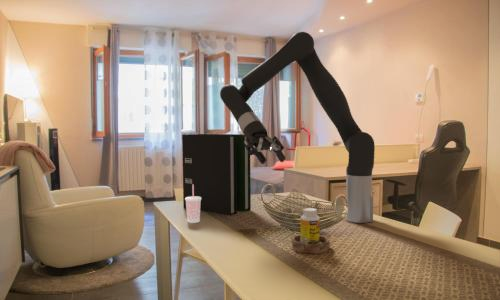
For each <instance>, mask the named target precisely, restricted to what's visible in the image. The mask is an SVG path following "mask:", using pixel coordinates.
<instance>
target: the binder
mask: <svg viewBox="0 0 500 300" xmlns="http://www.w3.org/2000/svg"><path fill="white" fill-rule="evenodd" d="M181 137H182V139H181V142H182V144H181V146H182V148H181V149H182V191H183V193H182V194H183V200H182V201H183V208H185V209H186V201H185V198H186V197H190V196H193V193H192V184H194V196H199V197H201V204H200V212H202V211H203V212H206V213H207V212H208V213H211V214H212V213H213V214H217V213H218V214H219V215H223V214H224V216H228V215H230V216H229V217H231V216H232V215H237V214H238V211H239V212H244V213H246V211H251V210H252V209H251V208H252V206H251V205H252V204H251V203H252V201H251V197H252V196H251V194H252V193H251V189H252V188H251V186H252V185H251V184H252V183H251V155H250V154H249V153H248V151H247V149H246V147H245V145H244V141H245V140H246V137H245V135H244V133H243V134H234V133H233V134H231V133H229V134H228V133H226V134H225V133H224V134H223V133H197V134H195V133H193V134H191V133H190V134H182V135H181Z"/></svg>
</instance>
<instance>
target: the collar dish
mask: <svg viewBox="0 0 500 300" xmlns="http://www.w3.org/2000/svg"><path fill="white" fill-rule="evenodd" d="M329 247H330V239H329V238H328V236H325V235H321V234H320V240H319V244H305V243H301V242H300V233H299V234H296V235H294V236H291V249H292V250H293V251H295V252H297V253H300V254H305V255H318V254H325V253H326V252H328V251H330V250H329V249H330V248H329Z"/></svg>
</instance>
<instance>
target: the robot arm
mask: <svg viewBox="0 0 500 300" xmlns="http://www.w3.org/2000/svg"><path fill="white" fill-rule="evenodd" d="M294 62H296V63H297V64H298V66H299V67H300V69H301V70H302V71H303V73H304V74H305V76H306V79H307V81H308V83H309V85H310V87H311V90H312V92H313V94H314V95H315V97H316V99H317V102H318V103H319V104H320V106H321V108H322V109H323V111H324V112H325V113H326V116H327V117H328V118H329V120H330V121H331V122H332V123H333V125H334V126H335V129H336V131H337V132H338V134H339V136H340V139H341V141H342V143H343V144H344V148H345V149H346V151H347V152H348V161H347V162H348V164H347V167H346V170H345V171H346V173H345V175H346V177H345V178H346V179H345V181H346V184H345V186H346V187H345V188H346V191H345V192H346V193H345V199H346V198H347V199H348V213H347V216H346V215H345V220H346V221H348V222H350V223H356V224H357V223H358V224H366V223H373V222H374V196H373V193H372V192H373V191H372V190H373V186H372V185H373V169H374V165H375V149H376V148H375V146H376V145H375V141H374V137H372V135H370V134H369V133H368V132H365V131H363V130H361V128H360V127H359V125H358V124H357V122H356V121H355V119H354V118H353V114H352V112H351V108H350V106H349V102H348V99H347V97H346V95H345V94H344V91H343V90H342V88H341V86H340V85H339V83H338V81H337V80H336V79H335V78H334V76H333V75H332V74H331V73H330V72H329V70H328V69H327V68H326V67H325V66H324V64H323V63H322V61H321V59H320V57H319V55H318V54H317V51H316V49H315V40H314V38H313V36H312V35H311V34H310V33H309V32H307V31H298V32H295V33H294V34H293V35H292V36H291V37H290V39H289V40H287V42H286V43H285V44H284V45H283V46H281V48H280V49H279V50H277V51H276V52H275V53H274V54H273V55H271V56H270V57H269V58H267V59H266V60H264V61H263V62H262V63H260V64H259V65H257V66H256V67H255V68H252V70H250V71H249V72H248V73H246V74H245V75H244V76H243V77H242V78H241V85H240V87H239V88H237V87H236V86H235V85H234V84H225V85H223V86H222V87H221V88H220V91H219V97H220V99H221V101H222V103H224V105H225V106H226V108H227V109H228V110H229V112H231V115H232V116H233V117H234V119H235V121H236V122H237V125H238V126H239V128H240V131H241V132H242V133H243V135H245V137H246V140H245V141H244V145H245V147H246V149H247V151H248V153H249V154H250V156H255V158H257V160H258V161H259V162H260V163H261V165H265V163H266V162H267V157H266V156H265V155H264V153H263V152H262V151H269V152H270V153H273V154H274V155H276V158H278V160H279V161H280V163H284V162H285V160H286V156H285V155H284V153H283V151H284V149H285V147H284V145H283V143H282V142H281V141H280V140H279V138H278V137H277V136H275V135H274V136H273V137H270V136H268V130H267V128H266V127H265V126H264V124H263V123H262V121H261V120H260V117H258V116H257V114H255V112H254V110H253V109H252V108H251V106H250V105H249V103H247V102H248V101H249V99H251V97H252V96H253V94H255V92H256V91H258V90H260V89H261V88H262V87H263V86H265V85H267V83H269V82H270V81H271V80H272V79H273V78H274V77H275V76H277V75H278V74H279V73H281V71H282V70H284V69H285V68H286V67H288V66H289V65H291V64H293V63H294ZM271 146H272V147H271Z"/></svg>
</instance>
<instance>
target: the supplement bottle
mask: <svg viewBox="0 0 500 300" xmlns="http://www.w3.org/2000/svg"><path fill="white" fill-rule="evenodd" d="M302 212H303V213H302V215H300V231H299V232H300V233H299V234H300V242H301V243H305V244H319V240H320V235H321V234H320V230H321V229H320V228H321V227H320V223H321V222H320V220H321V219H320V216H319V215H318V209H317V208H313V207H312V208H311V207H307V208H306V207H305V208H303V209H302Z"/></svg>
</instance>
